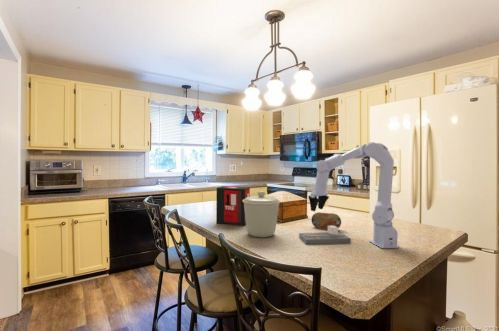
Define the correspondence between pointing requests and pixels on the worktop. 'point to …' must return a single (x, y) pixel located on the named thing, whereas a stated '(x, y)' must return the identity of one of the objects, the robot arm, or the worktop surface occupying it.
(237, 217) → the cleaning product box
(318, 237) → the fader console
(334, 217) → the tin
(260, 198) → the canister
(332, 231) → the fader tab
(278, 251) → the worktop surface
